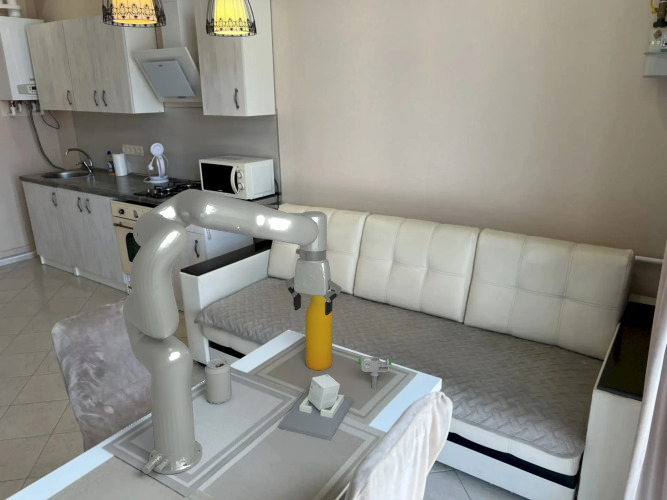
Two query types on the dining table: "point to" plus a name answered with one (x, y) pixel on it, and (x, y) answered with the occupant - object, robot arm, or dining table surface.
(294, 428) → the board
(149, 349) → the robot arm
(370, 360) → the mechanical component
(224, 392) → the can
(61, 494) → the dining table surface
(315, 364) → the beer bottle
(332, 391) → the product box
